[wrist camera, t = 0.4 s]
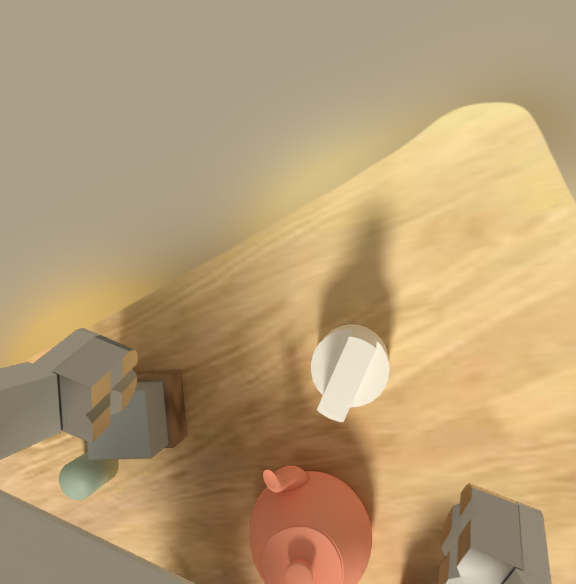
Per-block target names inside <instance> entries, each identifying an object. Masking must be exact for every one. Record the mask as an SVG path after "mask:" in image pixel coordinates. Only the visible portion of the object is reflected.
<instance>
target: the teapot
mask: <svg viewBox="0 0 576 584" xmlns="http://www.w3.org/2000/svg"><path fill="white" fill-rule="evenodd" d="M263 479H264V481H265V484H266V485H267V487H266V488H265V489H264V490H263V491H262V492H261V494H260V496H259V497H258V499H257V501H256V504H255V506H254V508H253V512H252V516H251V522H250V547H251V552H252V557H253V560H254V563H255V566H256V568H257V570H258V572H259V574H260V576H261V578H262V579H263V581H264V583H265V584H357V583H358V582H359V580H360V579H361V577H362V575H363V574H364V571H365V569H366V567H367V564H368V561H369V558H370V554H371V547H372V530H371V525H370V520H369V517H368V514H367V512H366V510H365V508H364V506H363V504H362V502H361V501H360V499H359V498H358V496H357V495H356V494H355V493H354V491H353V490H352V489H351V488H350V487H349V486H348V485H347V484H345V483H344V482H343V481H341V480H340V479H338V478H336V477H334V476H332V475H329V474H327V473H322V472H317V471H303V470H302V469H301V468H299V467H297V466H284V467H282V468H280V469H278V470H277V471H275V472H272V471H271V470H268V469H267V470H264V472H263Z"/></svg>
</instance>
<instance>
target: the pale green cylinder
mask: <svg viewBox="0 0 576 584" xmlns="http://www.w3.org/2000/svg"><path fill="white" fill-rule="evenodd" d="M117 471H118V459H106V460H89V459H88V451H87V452H86V453H84V454H83V455H81V456H79V457H78V458H76V459H75V460H73V461H71V462H70V463H68V464H67V465H65V466H64V467H63V468H62V470H61V472H60V475H59V483H60V487H61V489H62V491H63V492H64V494H65V495H66V496H68V497H69V498H71V499H73V500H83V499H86V498H87V497H89V496H90V495H91V494H93V493H94V492H95V491H96V490H98V489H99V488H100V487H102V486H103V485H104V484H105V483H107V482H108V481H109V480H111V479H112V478H113V477H114V476H115V475H116V473H117Z"/></svg>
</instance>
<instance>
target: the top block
mask: <svg viewBox="0 0 576 584" xmlns="http://www.w3.org/2000/svg"><path fill="white" fill-rule="evenodd" d="M168 444H169V441H168V431H167V420H166V410H165V400H164V389H163V381H154V382H137V385H136V388H135V392H134V394H133V396H132V398H131V400H130V402H129V403H128V405H127V406H126V407H125V408H124V409H123V410H122V411H121V412H119V413H116V414H113V415H110V425H109V426H108V427H107V428H106V429H105V430H104V431H103V432H102V433H101V435H100V436H99V437H98V438H97V439H96V440H95V441H94V442H93V443H91V442H88V441H87V449H88V459H89V460H106V459H146V458H152V457H153V456H155V455H156V454H157V453H158V452H160V451H161V450H162V449H163V448H164V447H166V446H167V445H168Z"/></svg>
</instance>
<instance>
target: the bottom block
mask: <svg viewBox="0 0 576 584" xmlns="http://www.w3.org/2000/svg"><path fill="white" fill-rule="evenodd" d="M135 373H136V375H137V382H154V381H163V389H164V400H165V410H166V420H167V431H168V441H169V444H168V445H167V446H166V447H164V448H174V447H175V446H176V445H177V444H178V443H179V442H181V441H182V440H183V439H184V438H185V437H186V436H187V429H186V418H185V408H184V398H183V387H182V377H181V370H167V371H150V372H135Z"/></svg>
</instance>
